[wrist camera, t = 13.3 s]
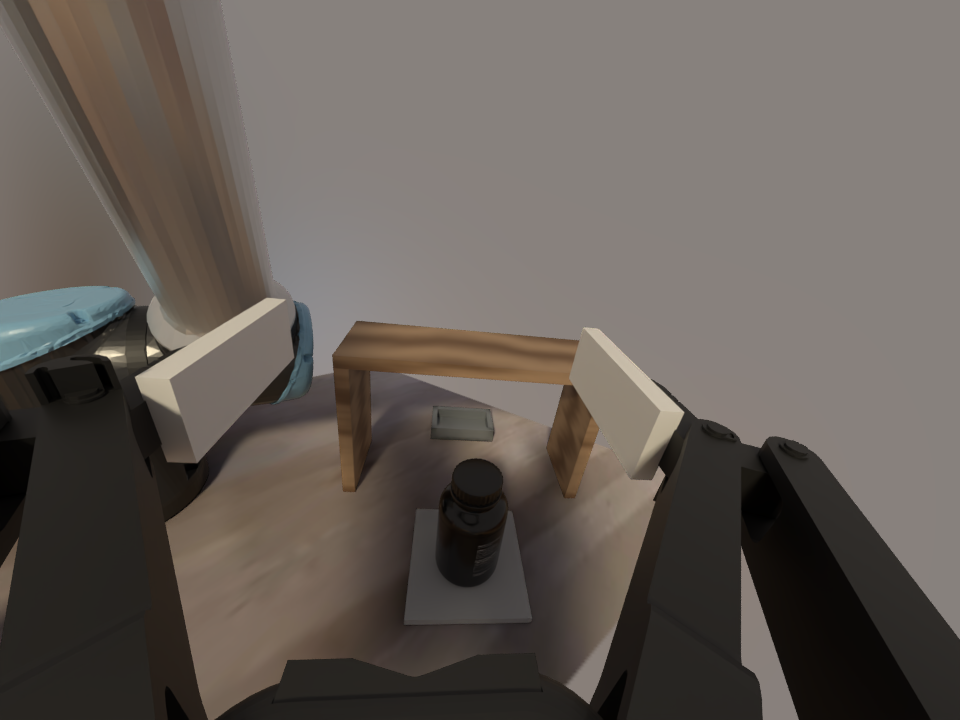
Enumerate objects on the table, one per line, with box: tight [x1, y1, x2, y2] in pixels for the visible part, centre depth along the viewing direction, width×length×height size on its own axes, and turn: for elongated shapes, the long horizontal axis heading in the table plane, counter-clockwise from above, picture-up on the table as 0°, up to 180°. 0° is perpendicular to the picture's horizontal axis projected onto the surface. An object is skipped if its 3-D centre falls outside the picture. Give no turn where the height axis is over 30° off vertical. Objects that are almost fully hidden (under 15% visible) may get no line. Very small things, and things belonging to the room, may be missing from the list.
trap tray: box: [431, 406, 494, 442], centre depth 57 cm, size 6×10×2 cm, turn 94°
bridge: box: [332, 321, 599, 498], centre depth 45 cm, size 10×31×20 cm, turn 94°
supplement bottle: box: [435, 458, 508, 587], centre depth 34 cm, size 7×7×12 cm
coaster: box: [404, 509, 532, 625], centre depth 37 cm, size 12×12×1 cm
